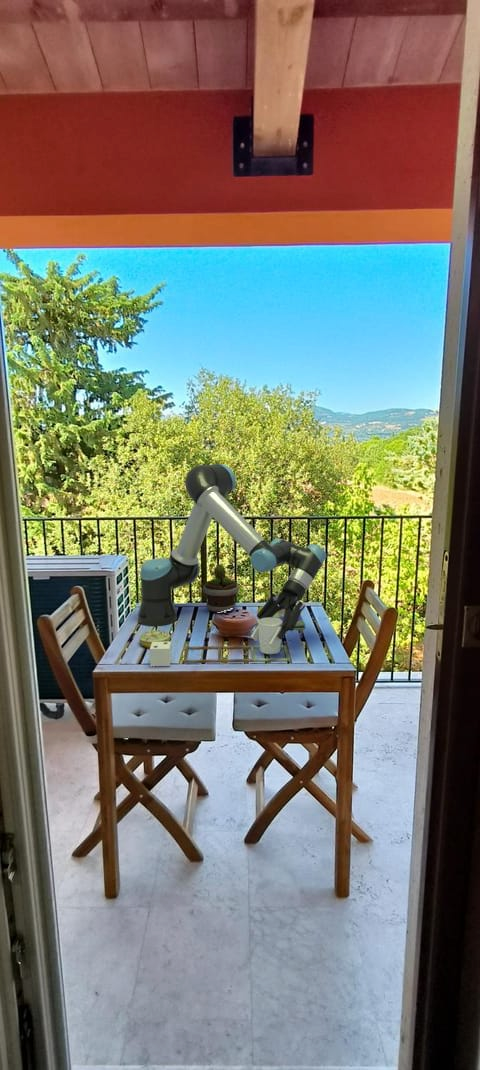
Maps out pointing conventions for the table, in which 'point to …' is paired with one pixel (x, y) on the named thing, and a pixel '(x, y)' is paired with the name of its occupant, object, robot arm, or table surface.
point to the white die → (160, 654)
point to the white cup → (268, 634)
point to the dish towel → (280, 615)
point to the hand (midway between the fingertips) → (262, 642)
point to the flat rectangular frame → (234, 659)
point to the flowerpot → (220, 591)
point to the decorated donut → (153, 637)
